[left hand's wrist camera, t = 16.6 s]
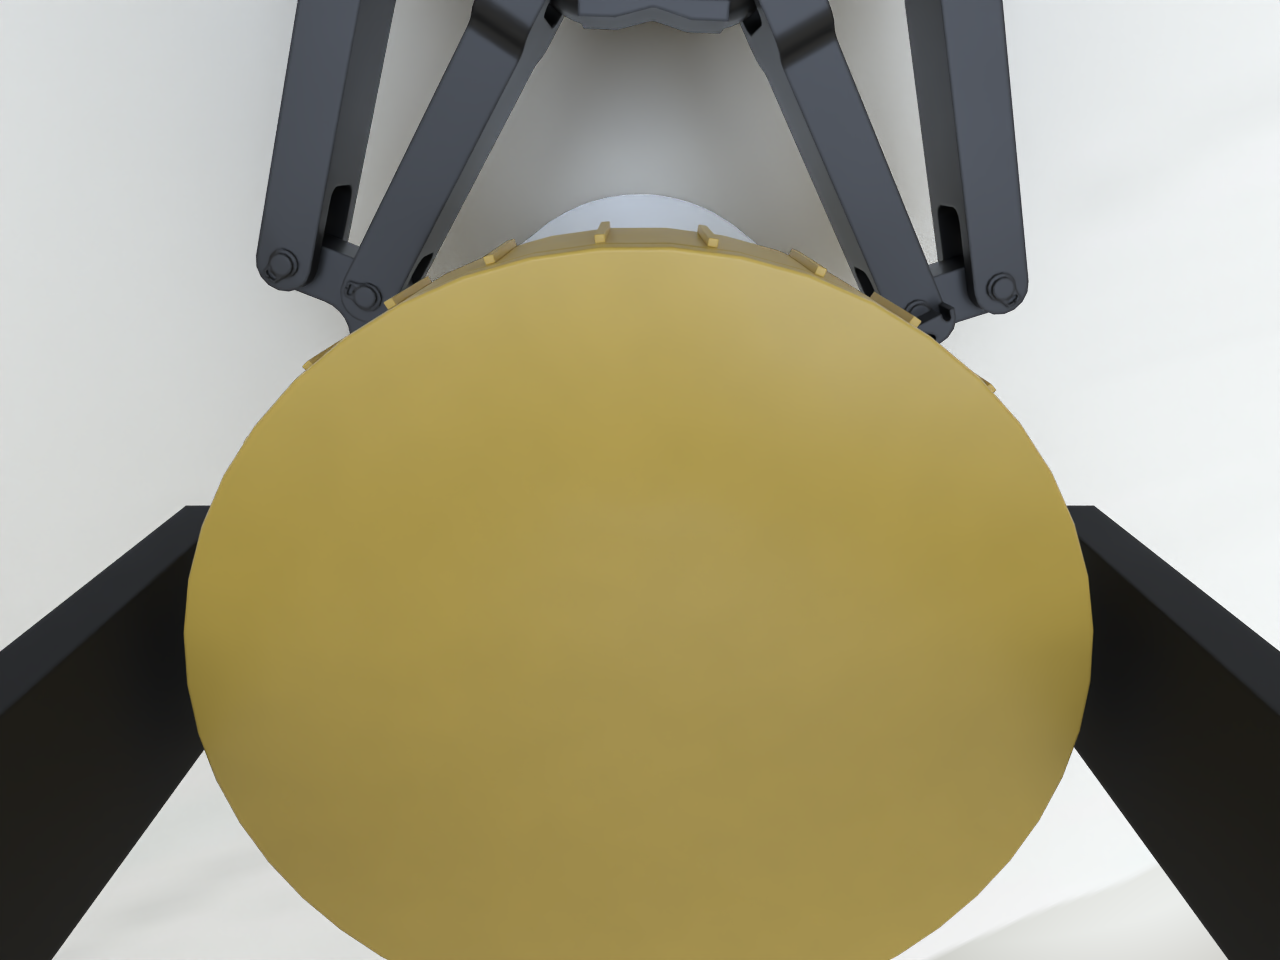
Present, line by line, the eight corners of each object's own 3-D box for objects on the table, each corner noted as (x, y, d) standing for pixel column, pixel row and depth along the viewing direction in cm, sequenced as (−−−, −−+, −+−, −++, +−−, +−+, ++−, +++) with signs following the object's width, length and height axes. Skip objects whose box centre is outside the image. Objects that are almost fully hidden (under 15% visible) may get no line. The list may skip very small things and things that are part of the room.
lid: (100, 581, 12) (-15, 673, 10) (680, 13, 10) (691, -25, 8) (611, 993, 15) (606, 1134, 13) (1161, 638, 13) (1269, 739, 10)
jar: (655, 119, 25) (684, 60, 8) (858, 372, 28) (1182, 703, 11) (417, 343, 27) (78, 640, 11) (626, 557, 30) (609, 1056, 13)
